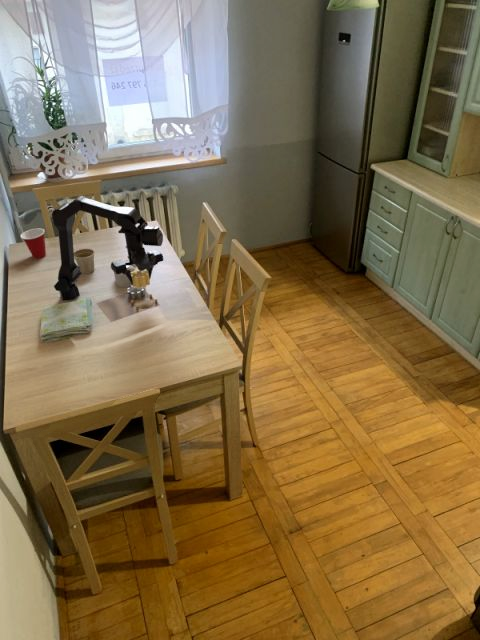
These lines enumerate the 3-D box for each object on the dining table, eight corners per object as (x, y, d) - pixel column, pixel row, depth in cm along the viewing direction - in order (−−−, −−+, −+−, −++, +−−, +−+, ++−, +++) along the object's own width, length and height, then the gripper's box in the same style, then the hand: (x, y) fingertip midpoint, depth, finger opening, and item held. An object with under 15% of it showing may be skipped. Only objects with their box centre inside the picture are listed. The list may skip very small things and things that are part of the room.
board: (111, 324, 173) (110, 318, 171) (96, 305, 184) (95, 300, 182) (160, 307, 182) (159, 301, 180) (143, 290, 193) (142, 285, 191)
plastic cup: (26, 253, 223) (19, 230, 217) (49, 249, 227) (43, 226, 220) (27, 263, 215) (20, 239, 208) (52, 258, 219) (45, 234, 212)
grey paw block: (117, 290, 193) (114, 272, 188) (114, 276, 203) (111, 258, 199) (142, 286, 196) (139, 268, 191) (138, 272, 206) (135, 254, 201)
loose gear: (136, 290, 173) (134, 277, 170) (129, 283, 178) (127, 270, 175) (152, 284, 176) (151, 271, 173) (145, 277, 181) (143, 265, 178)
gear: (132, 301, 184) (130, 293, 181) (125, 294, 188) (124, 286, 186) (147, 296, 187) (146, 288, 185) (140, 289, 191) (139, 281, 189)
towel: (40, 345, 164) (37, 333, 161) (45, 313, 180) (41, 302, 178) (94, 336, 167) (91, 325, 164) (93, 306, 184) (90, 295, 181)
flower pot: (95, 275, 204) (91, 257, 199) (73, 275, 204) (69, 258, 200) (100, 265, 212) (97, 248, 207) (80, 265, 212) (76, 248, 207)
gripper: (118, 259, 158) (125, 298, 167) (167, 244, 166) (172, 282, 175) (106, 247, 166) (114, 285, 174) (154, 234, 174) (159, 271, 183)
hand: (140, 281), depth 176 cm, fingers closed on loose gear, 7 cm apart
